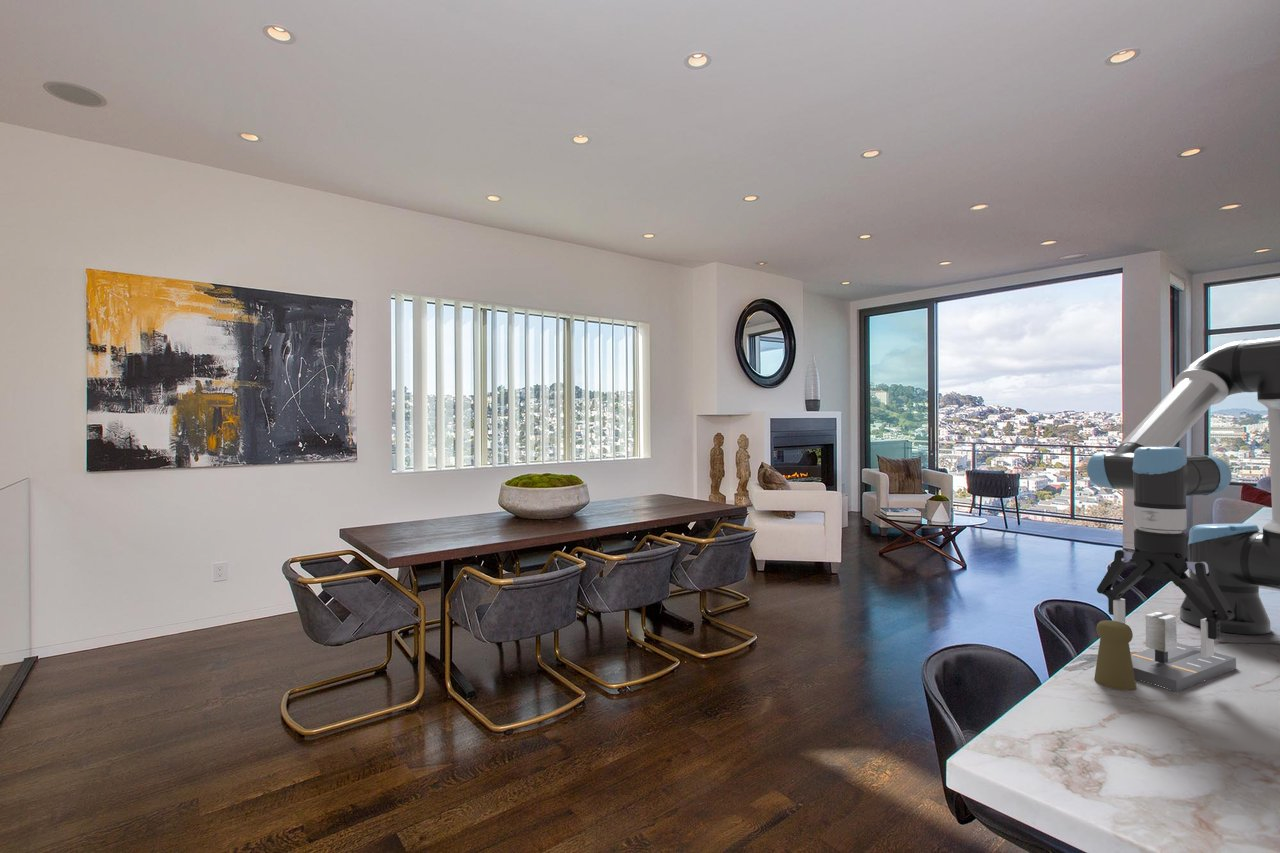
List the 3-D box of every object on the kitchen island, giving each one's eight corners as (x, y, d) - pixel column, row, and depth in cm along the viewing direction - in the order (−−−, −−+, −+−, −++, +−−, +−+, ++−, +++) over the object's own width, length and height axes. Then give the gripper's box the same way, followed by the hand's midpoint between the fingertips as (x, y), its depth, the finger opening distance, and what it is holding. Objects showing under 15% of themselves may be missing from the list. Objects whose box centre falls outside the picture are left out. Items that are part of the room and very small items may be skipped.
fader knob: (1157, 657, 117) (1157, 611, 117) (1177, 662, 114) (1176, 615, 114) (1146, 660, 115) (1145, 614, 115) (1165, 666, 112) (1164, 619, 112)
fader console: (1172, 651, 126) (1171, 641, 126) (1236, 668, 117) (1235, 657, 117) (1111, 671, 116) (1111, 660, 116) (1176, 692, 107) (1176, 680, 107)
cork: (1091, 683, 111) (1091, 622, 111) (1096, 673, 115) (1095, 614, 115) (1134, 693, 107) (1134, 630, 107) (1137, 682, 111) (1137, 621, 111)
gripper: (1075, 522, 124) (1077, 627, 124) (1238, 542, 101) (1239, 671, 101) (1097, 519, 127) (1098, 621, 127) (1259, 538, 105) (1260, 662, 105)
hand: (1161, 644), depth 114 cm, fingers open, 13 cm apart
